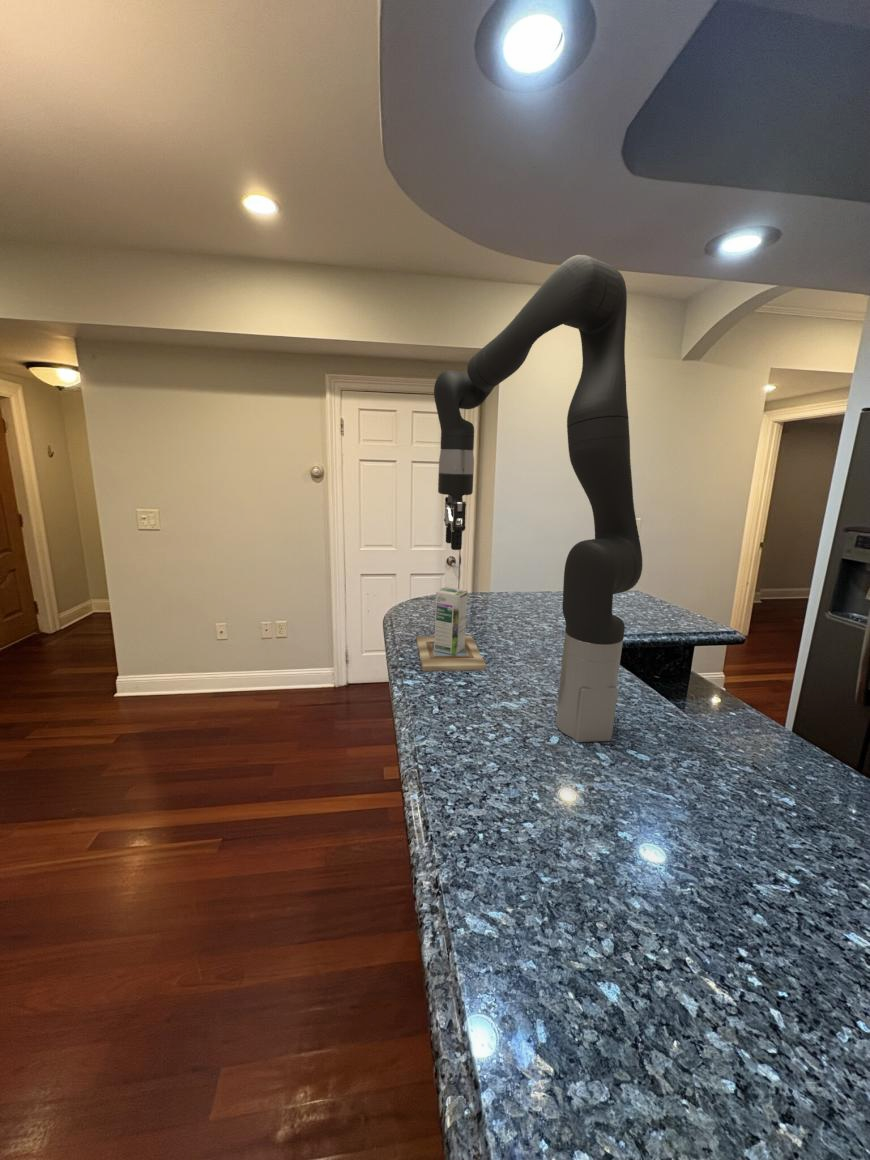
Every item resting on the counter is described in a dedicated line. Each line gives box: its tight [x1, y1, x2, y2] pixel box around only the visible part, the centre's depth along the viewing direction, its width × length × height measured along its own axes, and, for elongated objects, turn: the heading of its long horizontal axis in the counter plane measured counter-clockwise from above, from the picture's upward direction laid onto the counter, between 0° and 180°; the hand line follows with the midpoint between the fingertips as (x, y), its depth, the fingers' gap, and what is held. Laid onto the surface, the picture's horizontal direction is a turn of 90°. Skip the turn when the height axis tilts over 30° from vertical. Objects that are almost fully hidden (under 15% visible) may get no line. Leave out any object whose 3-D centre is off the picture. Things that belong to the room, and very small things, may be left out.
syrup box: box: [434, 586, 468, 655], centre depth 111 cm, size 6×6×14 cm
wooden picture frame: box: [415, 635, 487, 672], centre depth 113 cm, size 18×14×1 cm
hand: (453, 546), depth 107 cm, fingers open, 8 cm apart
